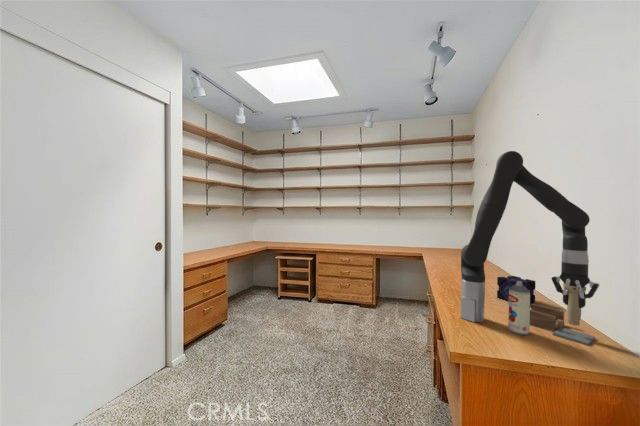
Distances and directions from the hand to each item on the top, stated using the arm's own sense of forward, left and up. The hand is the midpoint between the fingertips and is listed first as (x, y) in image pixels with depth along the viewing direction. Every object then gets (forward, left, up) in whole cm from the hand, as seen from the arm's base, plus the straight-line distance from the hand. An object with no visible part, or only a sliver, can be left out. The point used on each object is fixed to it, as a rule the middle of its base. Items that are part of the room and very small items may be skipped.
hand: (574, 305), depth 103 cm
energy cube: (+31, +30, -12) cm, 45 cm away
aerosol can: (-13, +13, -12) cm, 22 cm away
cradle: (+5, +11, -12) cm, 17 cm away
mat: (0, 0, -12) cm, 12 cm away
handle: (0, 0, -7) cm, 7 cm away
